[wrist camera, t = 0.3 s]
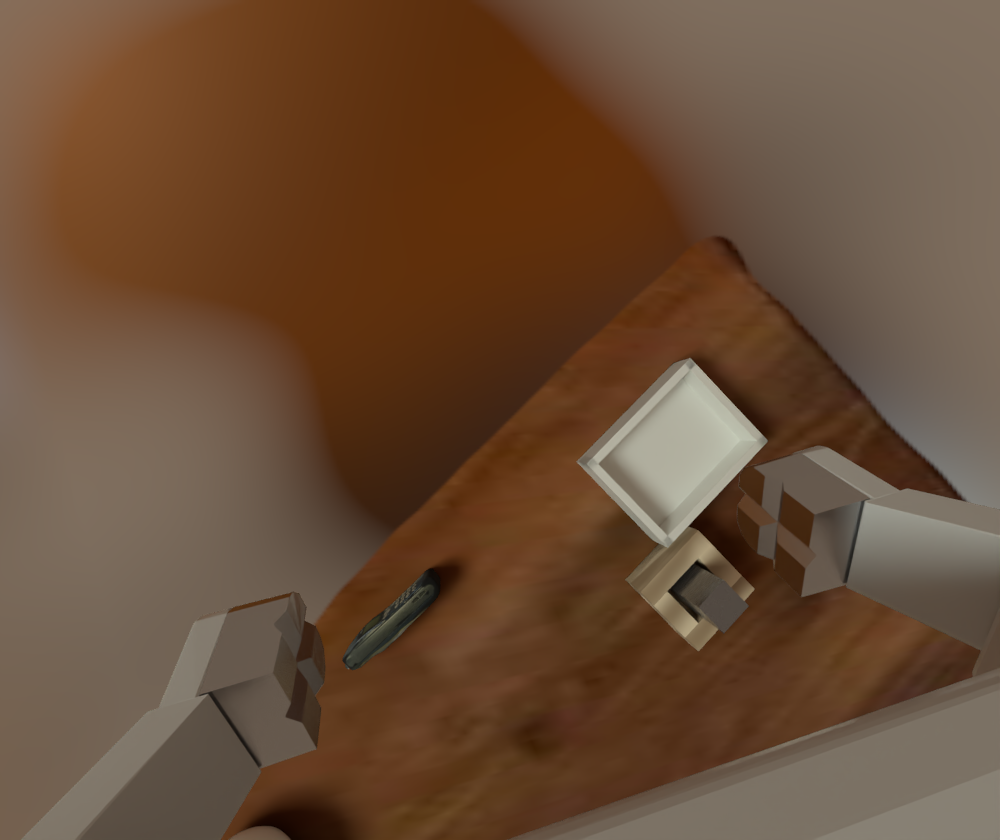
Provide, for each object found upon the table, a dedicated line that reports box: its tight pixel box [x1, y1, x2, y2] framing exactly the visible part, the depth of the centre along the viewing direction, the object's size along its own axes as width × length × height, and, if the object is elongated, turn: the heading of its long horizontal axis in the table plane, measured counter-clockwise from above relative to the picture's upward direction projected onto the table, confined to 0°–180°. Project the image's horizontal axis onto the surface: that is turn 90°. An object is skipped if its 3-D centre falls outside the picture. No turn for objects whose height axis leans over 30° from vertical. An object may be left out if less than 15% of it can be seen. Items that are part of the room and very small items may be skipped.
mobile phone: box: [343, 569, 440, 670], centre depth 58 cm, size 5×3×15 cm
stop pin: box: [670, 564, 748, 633], centre depth 59 cm, size 4×4×9 cm
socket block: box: [625, 527, 754, 651], centre depth 62 cm, size 10×10×5 cm
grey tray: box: [577, 358, 768, 548], centre depth 62 cm, size 14×18×4 cm
